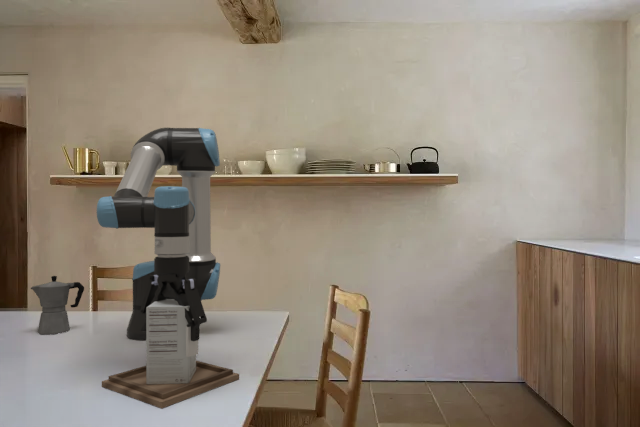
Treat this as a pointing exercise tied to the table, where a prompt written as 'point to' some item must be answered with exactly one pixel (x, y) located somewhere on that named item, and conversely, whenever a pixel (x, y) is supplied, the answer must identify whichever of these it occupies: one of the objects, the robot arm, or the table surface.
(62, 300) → the coffeepot
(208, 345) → the table surface
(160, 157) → the robot arm
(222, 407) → the table surface
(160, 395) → the walnut tray
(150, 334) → the supplement box
